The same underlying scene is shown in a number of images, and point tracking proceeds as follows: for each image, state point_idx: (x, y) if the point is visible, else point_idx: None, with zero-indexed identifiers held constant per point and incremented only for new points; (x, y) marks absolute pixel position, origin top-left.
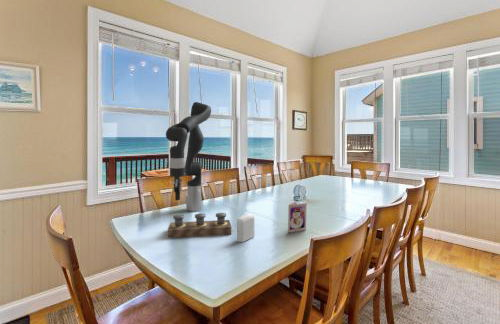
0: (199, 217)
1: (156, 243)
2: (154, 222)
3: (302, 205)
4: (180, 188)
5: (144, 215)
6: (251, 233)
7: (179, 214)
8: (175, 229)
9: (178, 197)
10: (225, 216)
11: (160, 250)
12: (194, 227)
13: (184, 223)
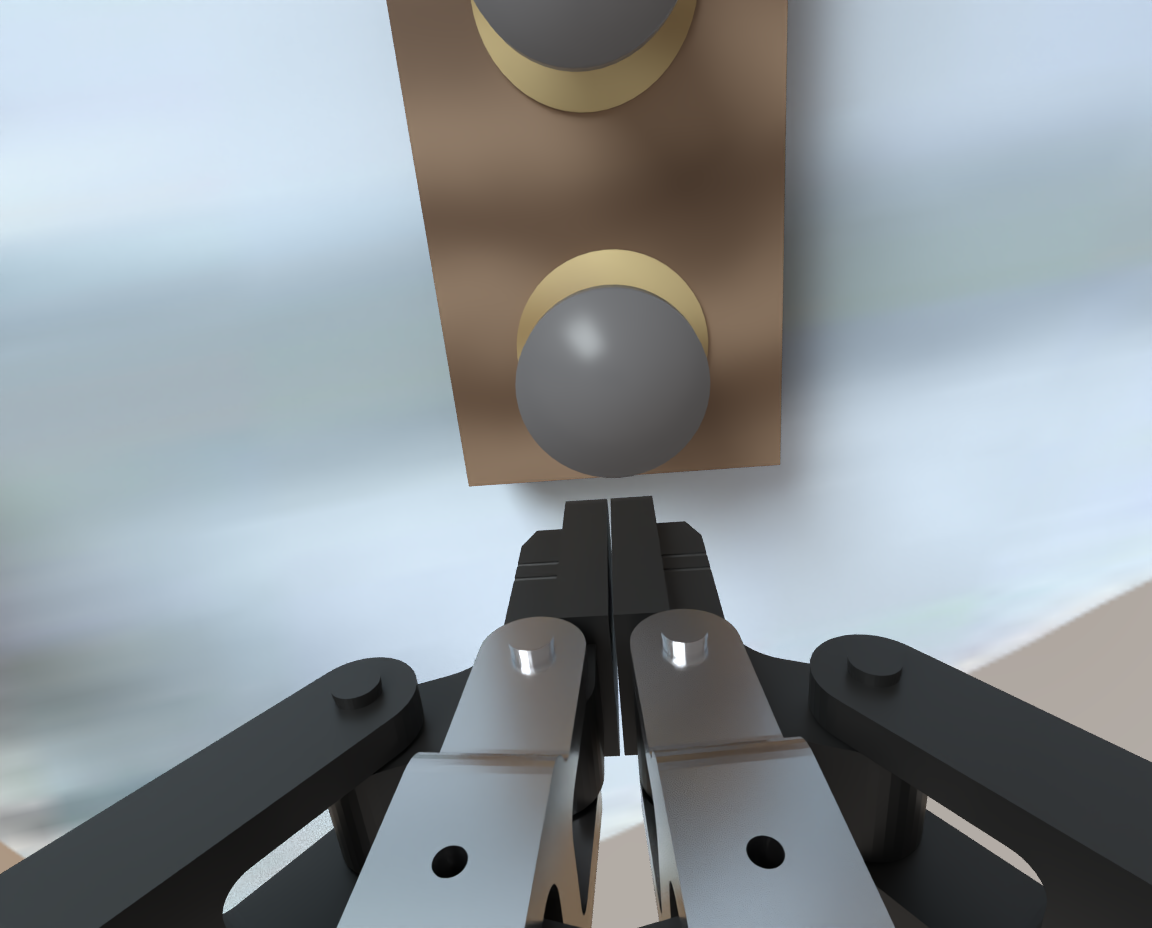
0: None
1: (897, 508)
2: (247, 661)
3: None
4: (800, 737)
5: (36, 796)
6: None
7: (516, 391)
8: (766, 367)
9: (702, 560)
10: None
11: (1108, 429)
12: (718, 78)
13: (510, 281)
